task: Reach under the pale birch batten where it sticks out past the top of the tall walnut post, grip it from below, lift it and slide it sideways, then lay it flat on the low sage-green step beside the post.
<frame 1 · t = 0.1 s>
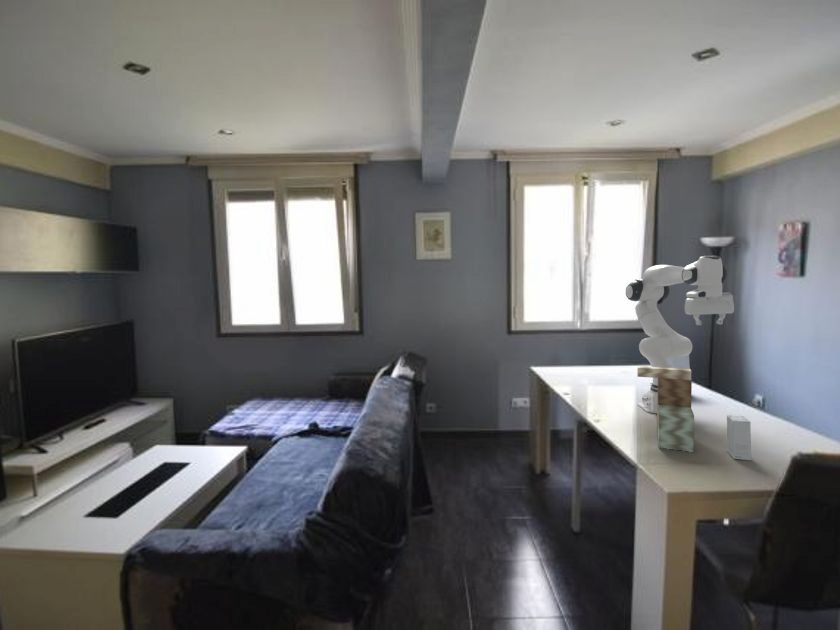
hand: (709, 324, 189), 48 cm above the table, tool pointing down, fingers open, 8 cm apart
birch batten: (663, 377, 187), point 26 cm above the table, touching stepped stand
stepped stand: (673, 441, 183), on the table
plastic bottle: (673, 394, 257), on the table
skincare box: (738, 456, 166), on the table
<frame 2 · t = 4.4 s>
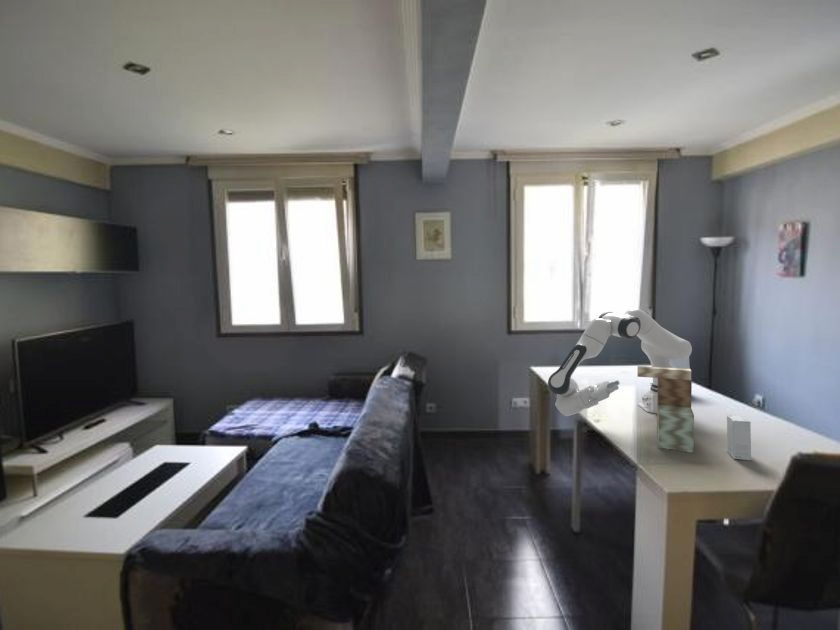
hand: (618, 384, 195), 22 cm above the table, tool pointing upward, fingers open, 8 cm apart
nothing on the table moved.
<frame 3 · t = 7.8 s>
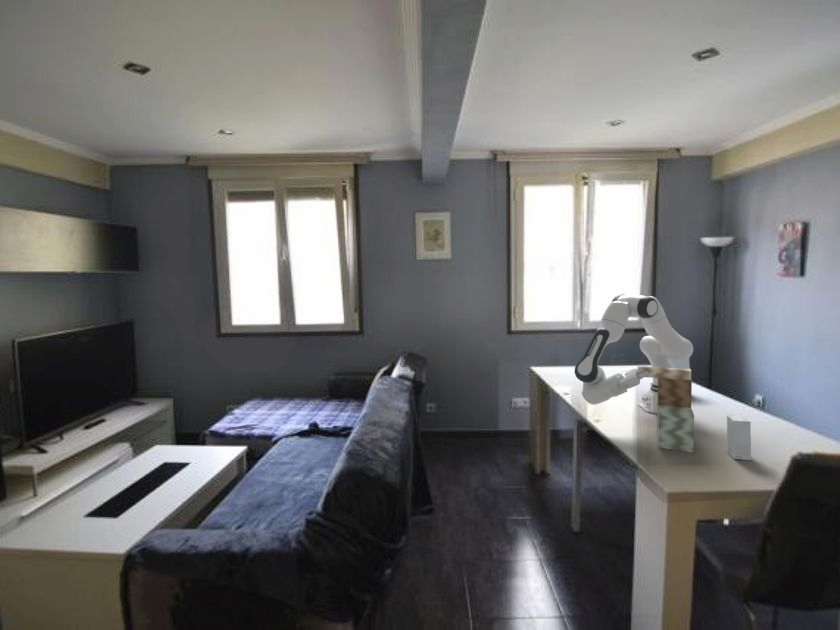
hand: (648, 370, 189), 28 cm above the table, tool pointing upward, fingers closed on birch batten, 4 cm apart
birch batten: (663, 377, 187), point 26 cm above the table, touching gripper, stepped stand
everything else where it was.
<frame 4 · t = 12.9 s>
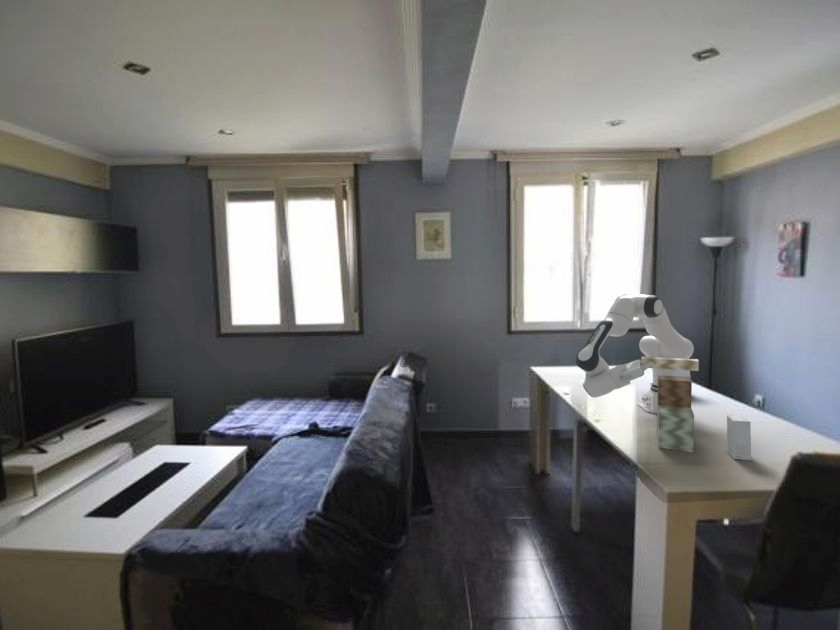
hand: (653, 361, 179), 34 cm above the table, tool pointing upward, fingers closed on birch batten, 4 cm apart
birch batten: (668, 368, 177), point 32 cm above the table, touching gripper
everything else where it was.
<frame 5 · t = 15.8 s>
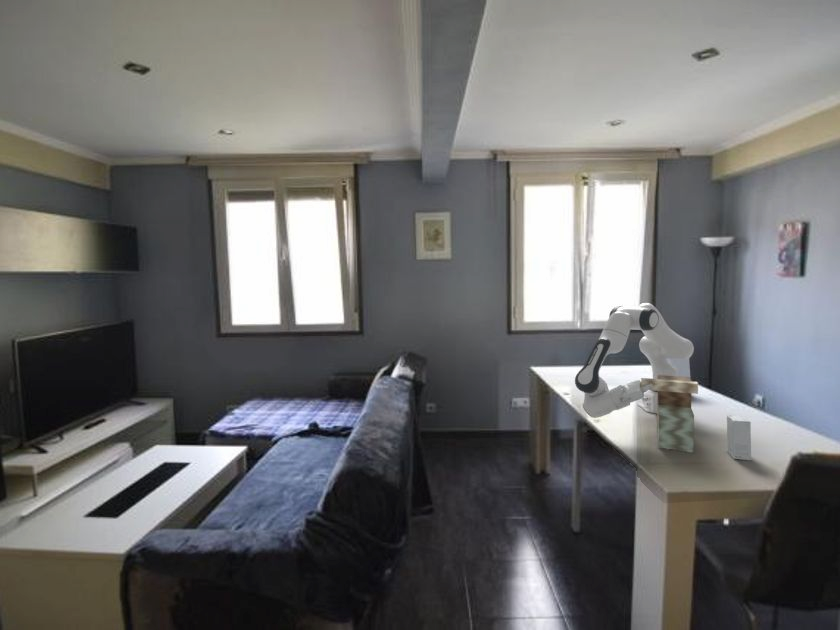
hand: (652, 383, 180), 25 cm above the table, tool pointing upward, fingers closed on birch batten, 4 cm apart
birch batten: (668, 390, 178), point 23 cm above the table, touching gripper
everything else where it was.
when the fingers open (18 cm above the table, at t = 18.4 s): birch batten stays where it is, resting on stepped stand.
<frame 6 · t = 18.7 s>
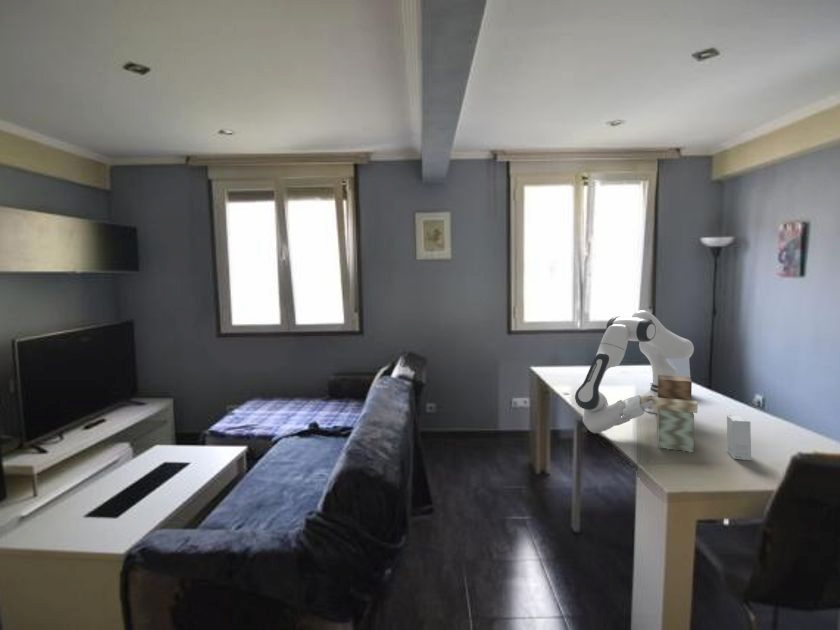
hand: (652, 399, 181), 18 cm above the table, tool pointing upward, fingers open, 7 cm apart
birch batten: (668, 409, 178), point 15 cm above the table, touching stepped stand
everything else where it was.
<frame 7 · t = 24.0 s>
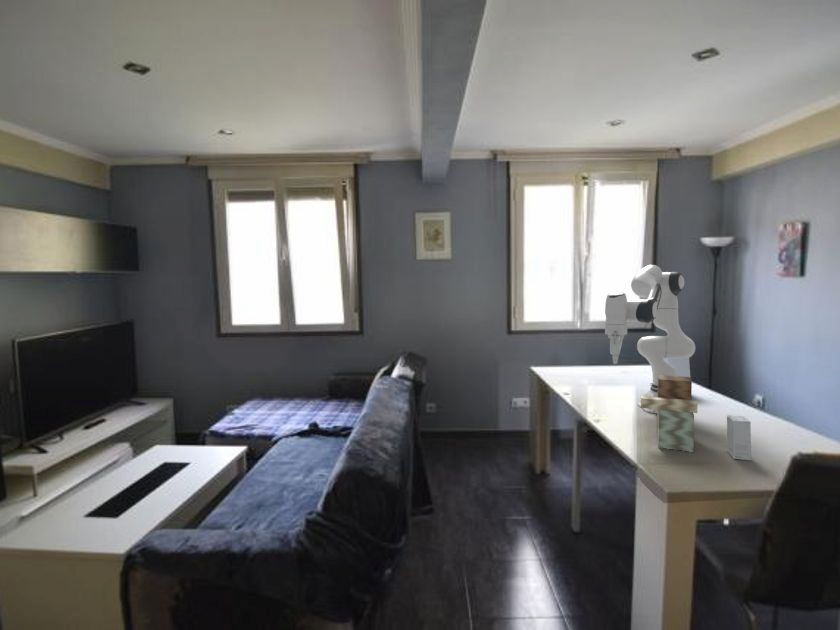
hand: (615, 361, 189), 33 cm above the table, tool pointing down, fingers open, 8 cm apart
nothing on the table moved.
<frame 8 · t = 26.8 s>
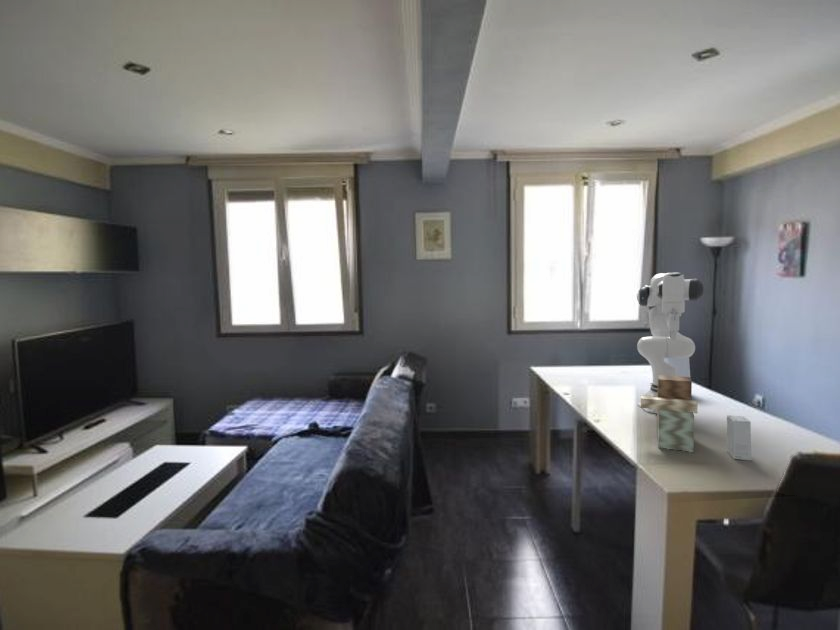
hand: (672, 339, 196), 41 cm above the table, tool pointing down, fingers open, 8 cm apart
nothing on the table moved.
at the end: birch batten inside the target area (0.0 cm from its centre), point 15.0 cm above the table; birch batten tilted 0°; the gripper is holding nothing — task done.
